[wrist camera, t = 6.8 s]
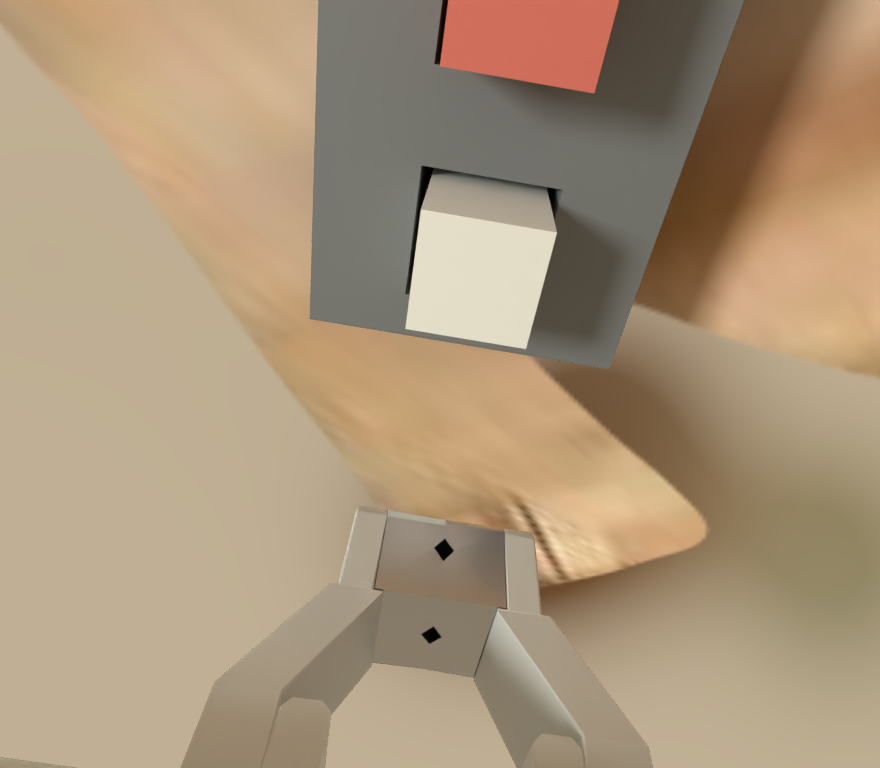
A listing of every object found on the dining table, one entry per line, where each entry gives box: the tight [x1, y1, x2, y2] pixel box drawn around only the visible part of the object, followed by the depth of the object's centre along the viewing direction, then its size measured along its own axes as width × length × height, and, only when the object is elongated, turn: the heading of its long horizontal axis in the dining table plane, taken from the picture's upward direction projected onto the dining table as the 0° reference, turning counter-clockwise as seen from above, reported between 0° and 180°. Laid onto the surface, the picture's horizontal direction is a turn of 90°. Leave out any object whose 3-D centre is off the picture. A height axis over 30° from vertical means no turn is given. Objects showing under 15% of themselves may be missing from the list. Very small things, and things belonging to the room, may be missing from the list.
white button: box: [405, 168, 557, 349], centre depth 23 cm, size 4×4×5 cm
